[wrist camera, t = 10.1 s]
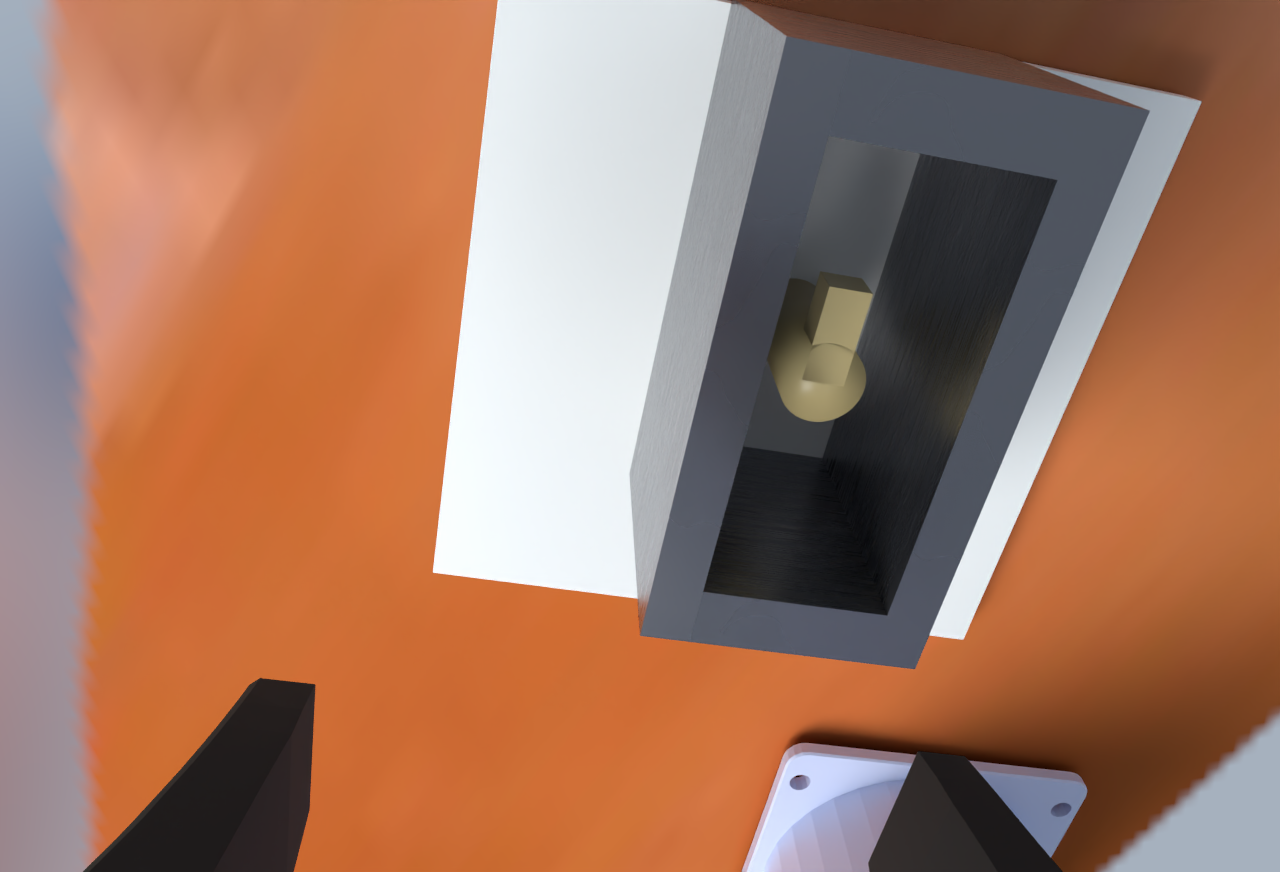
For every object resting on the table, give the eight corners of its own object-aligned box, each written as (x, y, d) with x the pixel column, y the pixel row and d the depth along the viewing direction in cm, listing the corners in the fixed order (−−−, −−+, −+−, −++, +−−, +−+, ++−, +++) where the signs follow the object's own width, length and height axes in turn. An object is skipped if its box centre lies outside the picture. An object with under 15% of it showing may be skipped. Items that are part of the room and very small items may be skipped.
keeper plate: (954, 622, 23) (1012, 738, 20) (436, 555, 21) (409, 669, 18) (1183, 94, 17) (1313, 139, 14) (506, -46, 16) (484, -32, 13)
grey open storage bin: (846, 504, 21) (914, 669, 16) (629, 473, 20) (640, 635, 16) (1000, 53, 16) (1149, 110, 12) (732, -3, 16) (786, 36, 11)
